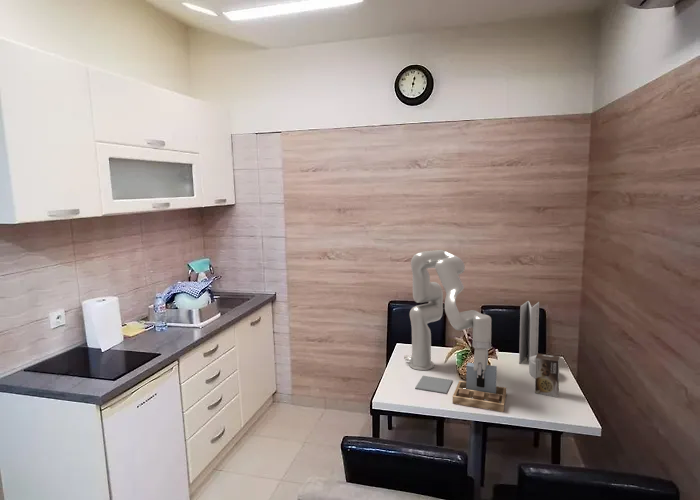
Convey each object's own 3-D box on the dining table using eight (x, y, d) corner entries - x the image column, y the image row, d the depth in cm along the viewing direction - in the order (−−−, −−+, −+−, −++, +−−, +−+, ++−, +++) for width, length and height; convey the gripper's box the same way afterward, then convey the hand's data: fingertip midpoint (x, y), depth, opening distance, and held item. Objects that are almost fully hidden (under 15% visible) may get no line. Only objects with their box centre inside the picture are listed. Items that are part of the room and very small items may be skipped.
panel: (466, 394, 183) (466, 365, 182) (467, 390, 187) (467, 362, 186) (495, 399, 179) (495, 369, 177) (496, 395, 182) (496, 366, 181)
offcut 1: (458, 401, 177) (458, 392, 177) (460, 397, 181) (460, 388, 180) (468, 403, 176) (468, 394, 175) (469, 399, 179) (469, 390, 179)
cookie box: (559, 391, 184) (560, 356, 182) (557, 397, 178) (559, 361, 176) (536, 387, 189) (537, 352, 187) (534, 393, 183) (535, 357, 181)
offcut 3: (488, 406, 172) (488, 397, 172) (489, 402, 176) (489, 393, 176) (498, 408, 171) (498, 399, 170) (499, 404, 174) (499, 394, 174)
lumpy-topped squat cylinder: (549, 370, 206) (550, 353, 205) (557, 382, 193) (558, 364, 192) (527, 369, 208) (527, 352, 207) (533, 380, 195) (533, 362, 194)
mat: (415, 388, 190) (415, 387, 190) (422, 376, 203) (422, 375, 203) (446, 394, 184) (446, 392, 184) (452, 381, 197) (452, 379, 197)
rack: (452, 403, 176) (452, 396, 175) (459, 386, 191) (459, 380, 190) (503, 412, 168) (503, 404, 167) (506, 394, 183) (506, 387, 182)
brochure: (530, 366, 212) (532, 307, 208) (519, 363, 215) (520, 306, 212) (537, 357, 223) (539, 301, 220) (526, 355, 227) (528, 300, 223)
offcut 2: (473, 404, 175) (473, 395, 174) (474, 399, 178) (474, 390, 178) (483, 405, 173) (483, 396, 173) (484, 401, 177) (484, 392, 176)
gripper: (475, 336, 189) (474, 375, 191) (469, 349, 174) (469, 391, 176) (492, 338, 186) (492, 378, 188) (488, 351, 171) (488, 394, 173)
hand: (481, 384), depth 182 cm, fingers closed on panel, 4 cm apart
